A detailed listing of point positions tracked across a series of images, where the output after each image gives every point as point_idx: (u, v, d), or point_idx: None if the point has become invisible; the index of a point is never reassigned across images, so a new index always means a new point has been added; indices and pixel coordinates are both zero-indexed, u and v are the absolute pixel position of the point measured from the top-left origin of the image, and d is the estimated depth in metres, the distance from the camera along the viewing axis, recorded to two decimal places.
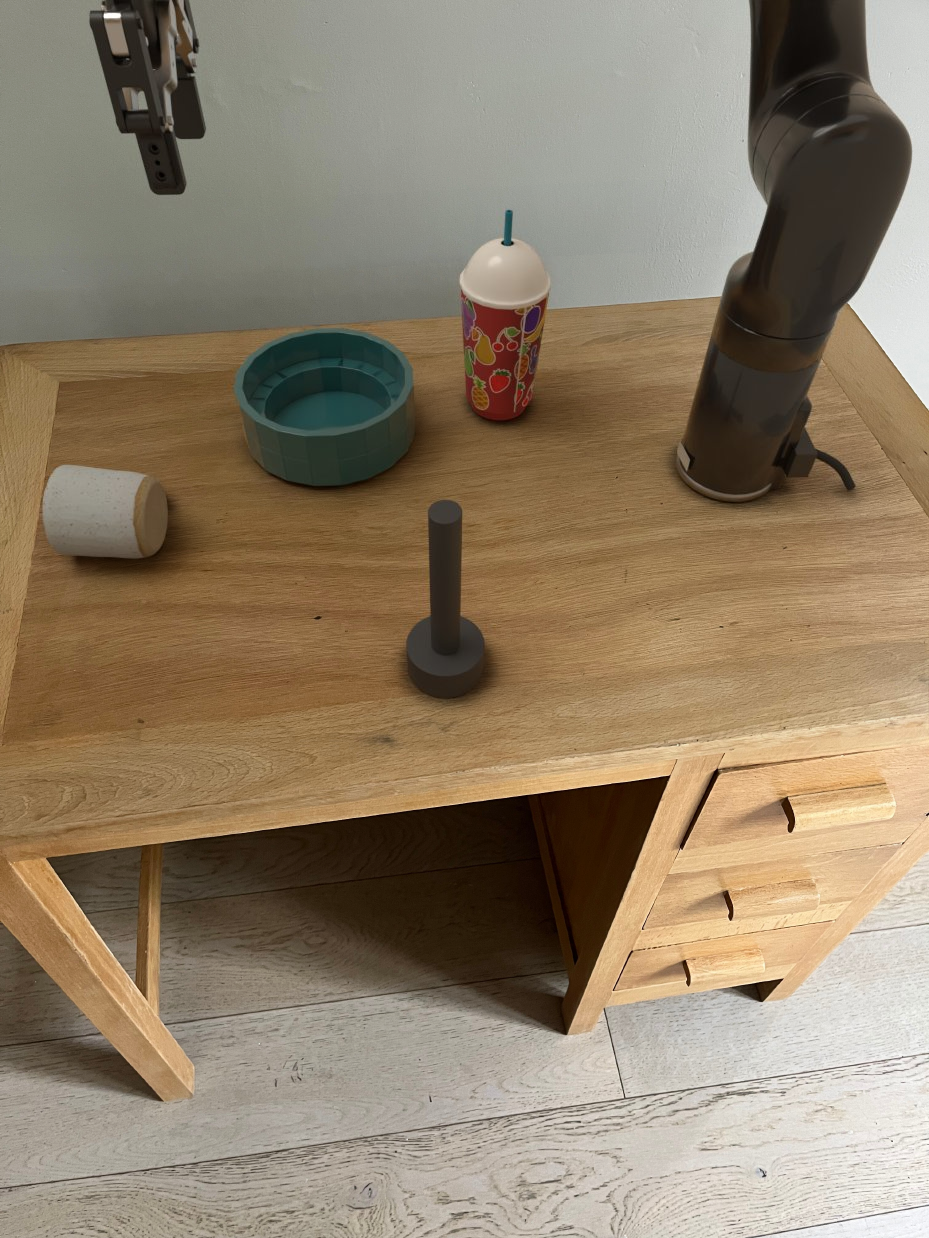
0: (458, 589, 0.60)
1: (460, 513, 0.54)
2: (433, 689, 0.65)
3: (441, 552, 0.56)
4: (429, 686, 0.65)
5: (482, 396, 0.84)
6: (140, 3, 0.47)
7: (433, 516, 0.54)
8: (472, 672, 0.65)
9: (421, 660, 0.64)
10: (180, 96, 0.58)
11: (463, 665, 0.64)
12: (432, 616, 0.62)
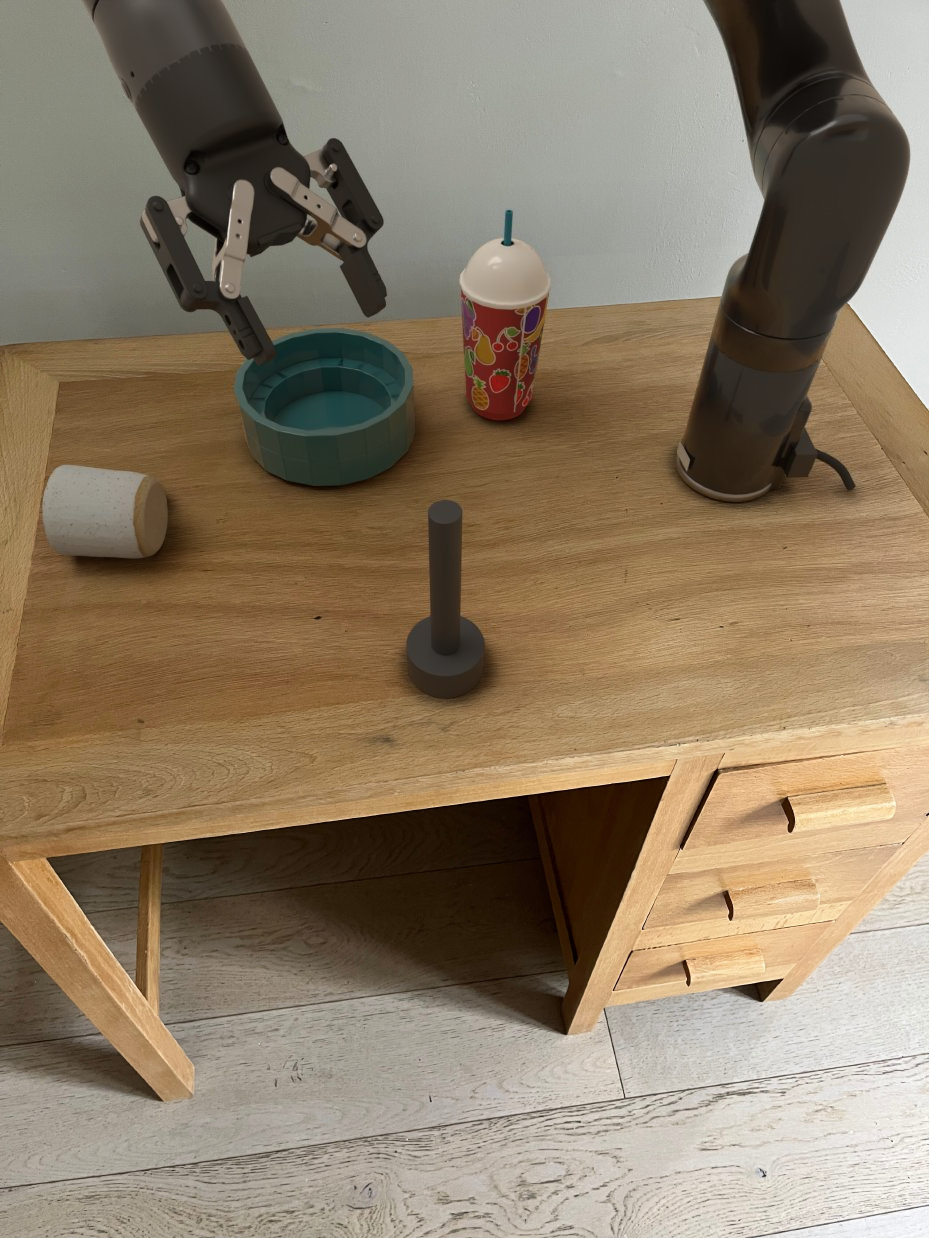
0: (458, 589, 0.60)
1: (460, 513, 0.54)
2: (433, 689, 0.65)
3: (441, 552, 0.56)
4: (429, 686, 0.65)
5: (482, 396, 0.84)
6: (190, 191, 0.50)
7: (433, 516, 0.54)
8: (472, 672, 0.65)
9: (421, 660, 0.64)
10: (353, 274, 0.56)
11: (463, 665, 0.64)
12: (432, 616, 0.62)
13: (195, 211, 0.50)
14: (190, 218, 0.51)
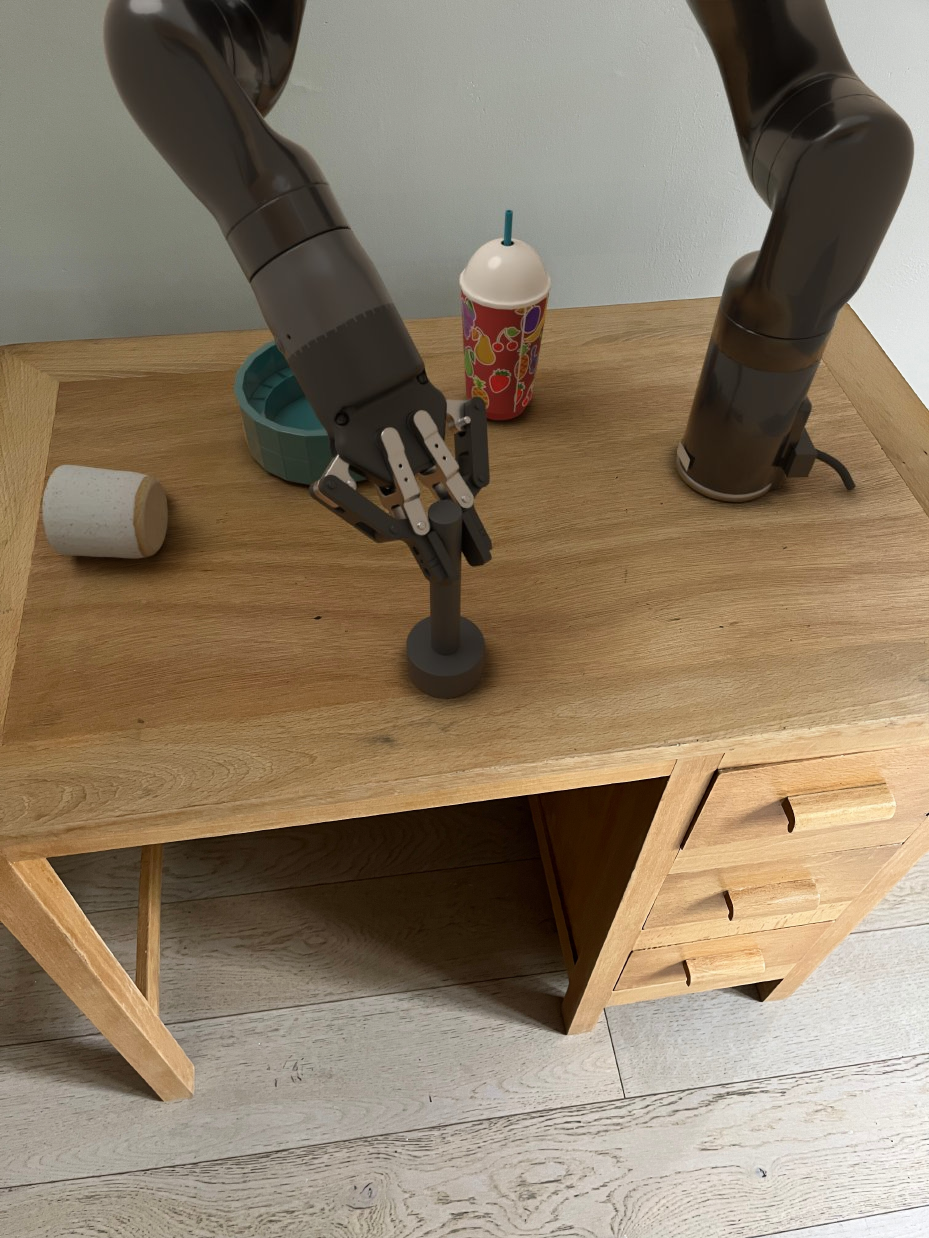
0: (458, 589, 0.60)
1: (460, 513, 0.54)
2: (433, 689, 0.65)
3: None
4: (429, 686, 0.65)
5: (482, 396, 0.84)
6: (343, 450, 0.52)
7: (433, 516, 0.54)
8: (472, 672, 0.65)
9: (421, 660, 0.64)
10: None
11: (463, 665, 0.64)
12: (432, 616, 0.62)
13: (344, 458, 0.52)
14: None
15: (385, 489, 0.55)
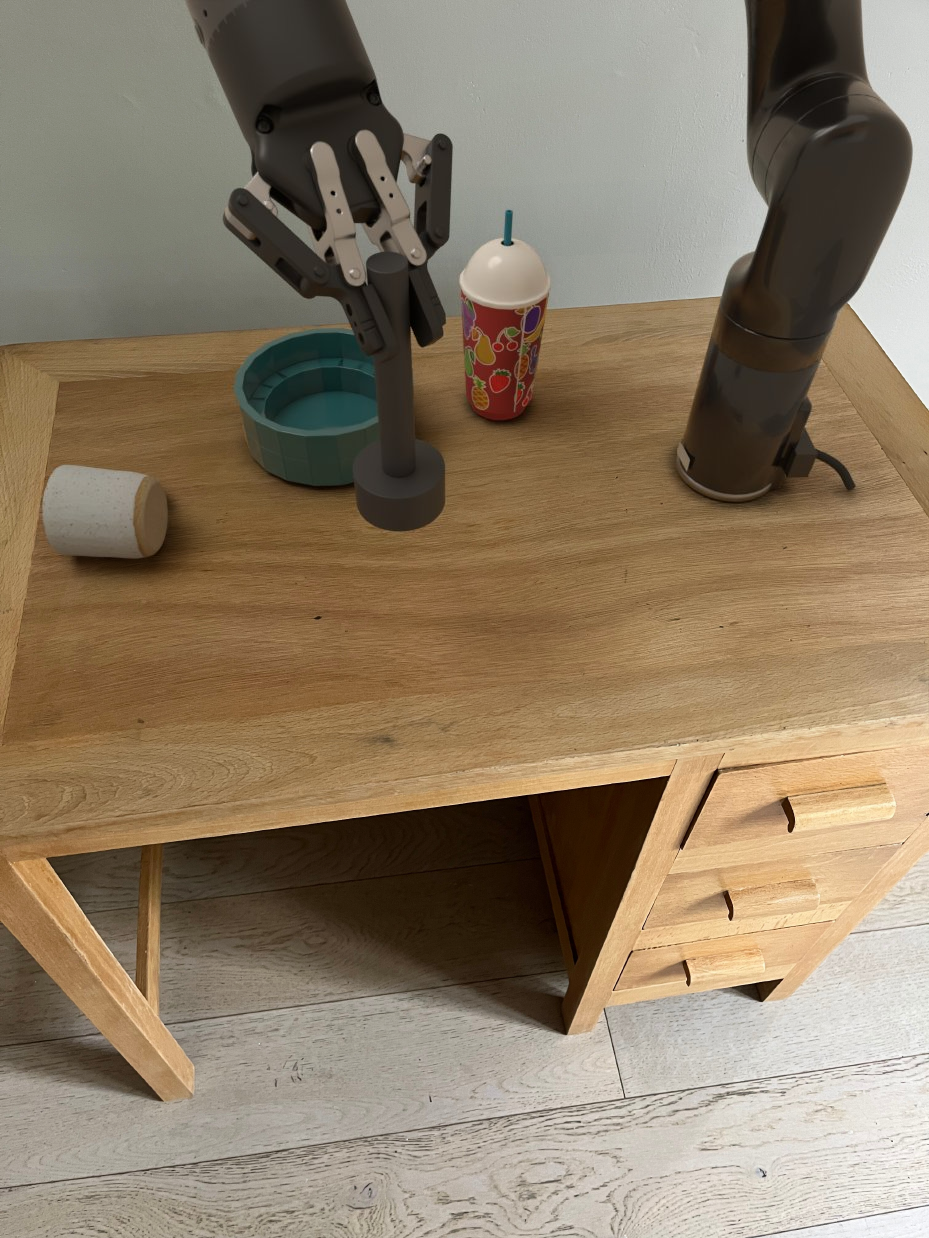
0: (407, 381, 0.50)
1: (404, 265, 0.45)
2: (379, 517, 0.56)
3: None
4: (375, 513, 0.55)
5: (482, 396, 0.84)
6: (262, 164, 0.43)
7: (371, 265, 0.44)
8: (425, 500, 0.55)
9: (367, 480, 0.55)
10: None
11: (415, 489, 0.54)
12: (379, 420, 0.52)
13: (264, 176, 0.43)
14: None
15: (321, 236, 0.46)
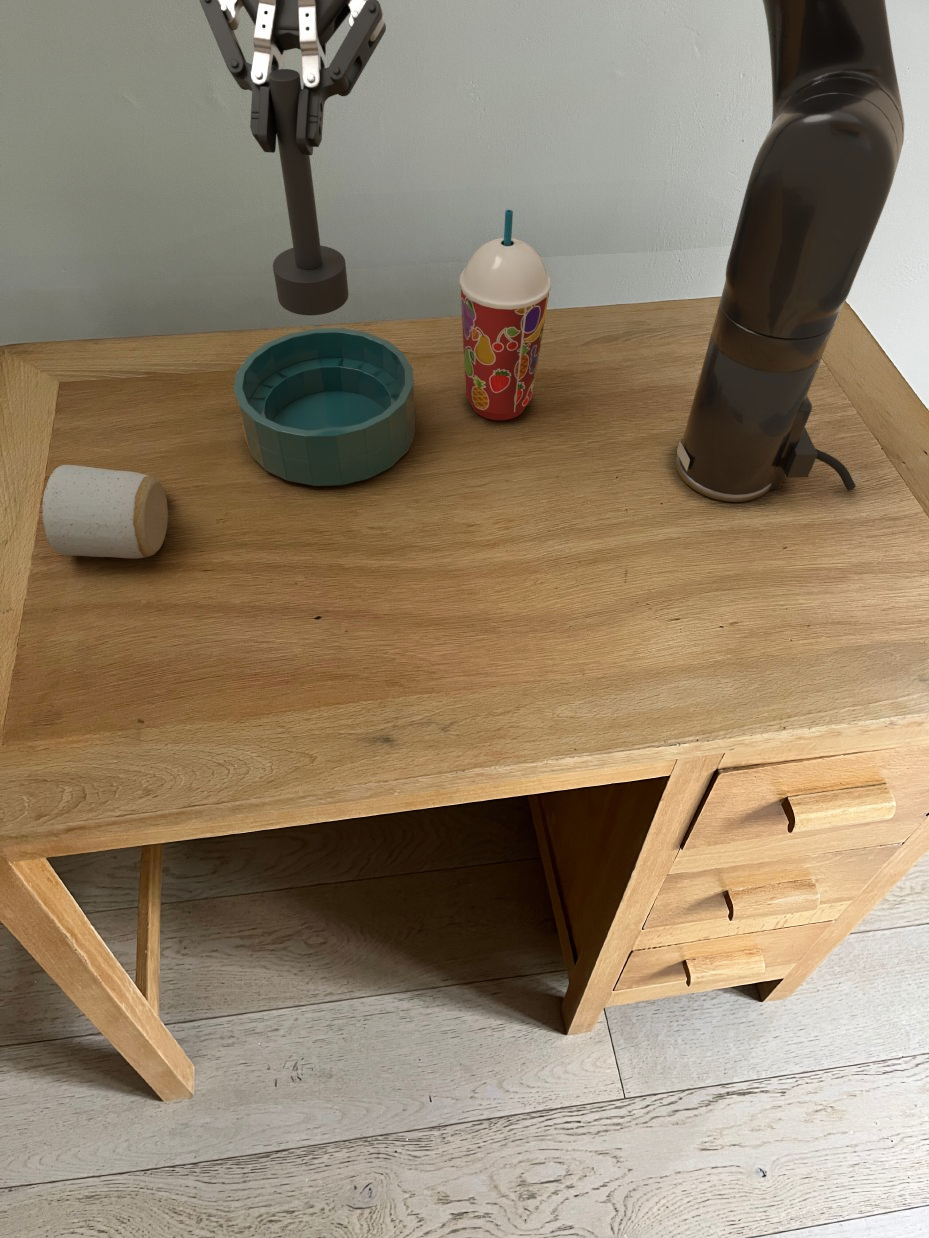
0: (298, 182, 0.65)
1: (289, 79, 0.60)
2: (278, 293, 0.72)
3: (275, 119, 0.62)
4: (276, 288, 0.72)
5: (482, 396, 0.84)
6: None
7: (271, 73, 0.60)
8: (303, 290, 0.70)
9: (280, 261, 0.71)
10: None
11: (299, 278, 0.70)
12: None
13: None
14: None
15: None
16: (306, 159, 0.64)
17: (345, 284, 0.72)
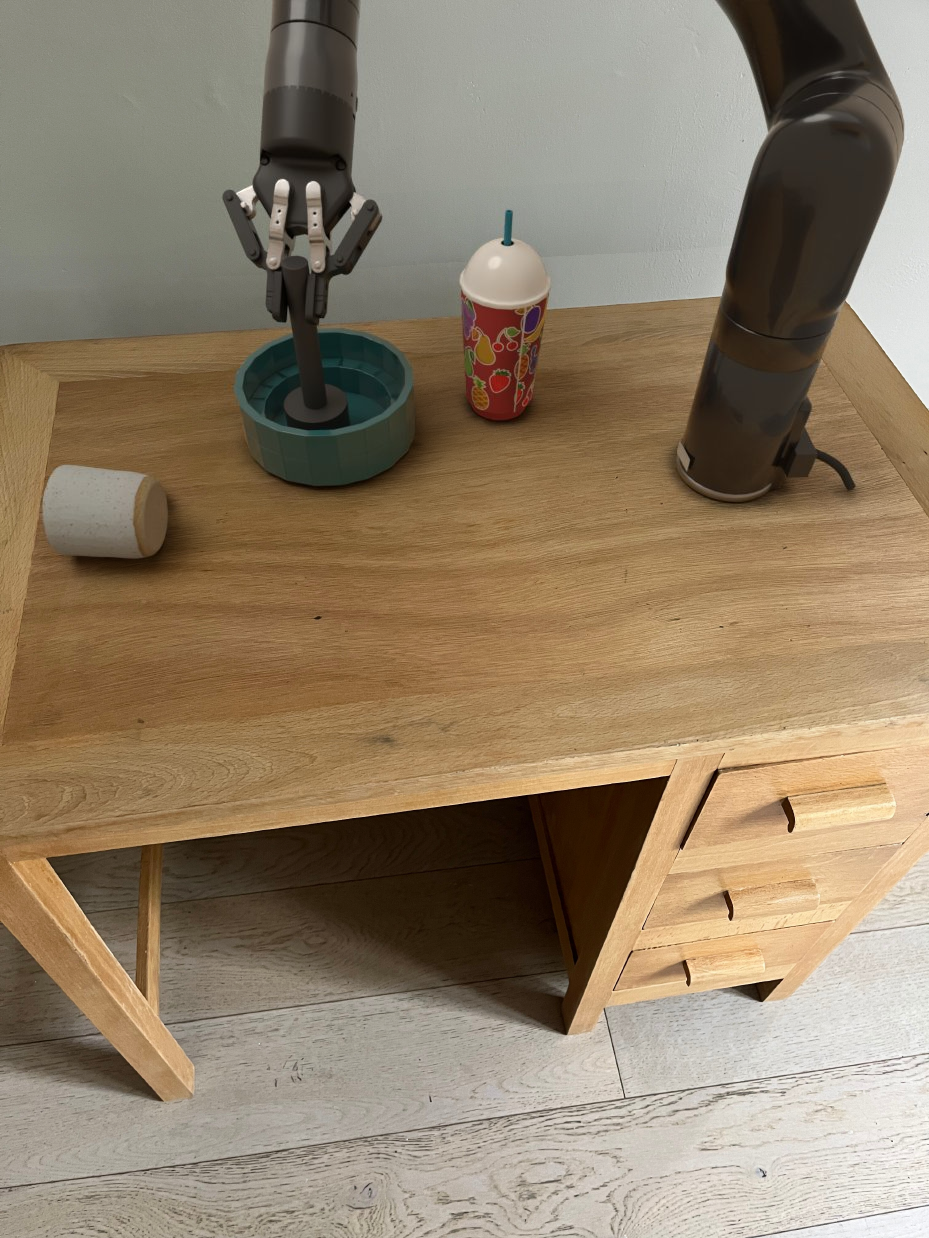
0: (306, 343, 0.75)
1: (299, 267, 0.70)
2: None
3: (287, 296, 0.72)
4: (287, 423, 0.82)
5: (482, 396, 0.84)
6: (253, 181, 0.70)
7: (284, 260, 0.71)
8: (310, 428, 0.80)
9: (290, 400, 0.81)
10: None
11: (306, 418, 0.80)
12: None
13: (253, 189, 0.71)
14: None
15: None
16: (313, 325, 0.74)
17: (347, 419, 0.82)
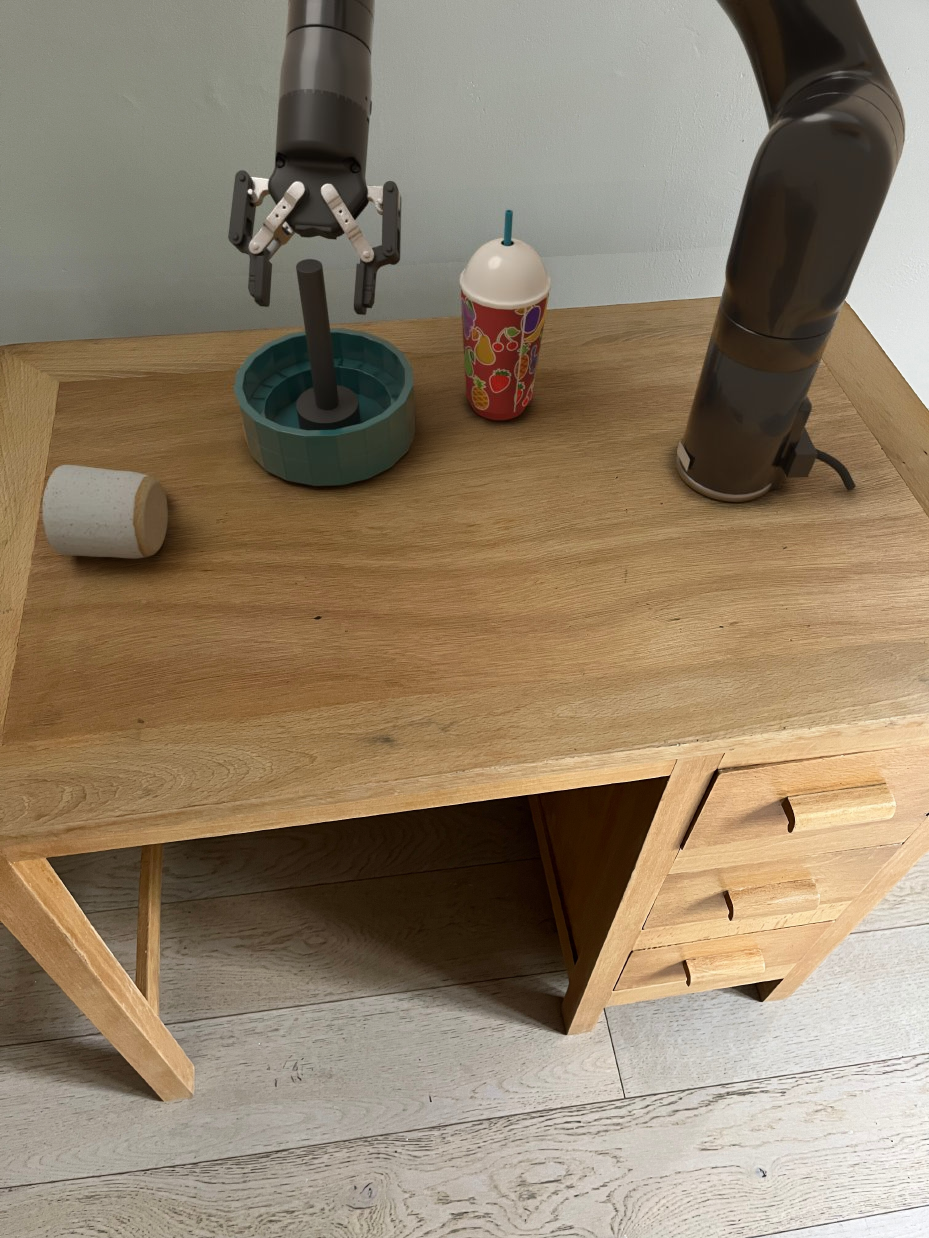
0: (319, 345, 0.76)
1: (314, 271, 0.71)
2: (300, 427, 0.83)
3: (301, 298, 0.73)
4: (299, 423, 0.83)
5: (482, 396, 0.84)
6: (271, 177, 0.71)
7: (299, 264, 0.72)
8: (322, 428, 0.81)
9: (302, 401, 0.83)
10: None
11: (318, 418, 0.81)
12: None
13: (268, 191, 0.72)
14: None
15: (284, 227, 0.74)
16: (326, 327, 0.76)
17: (358, 420, 0.83)
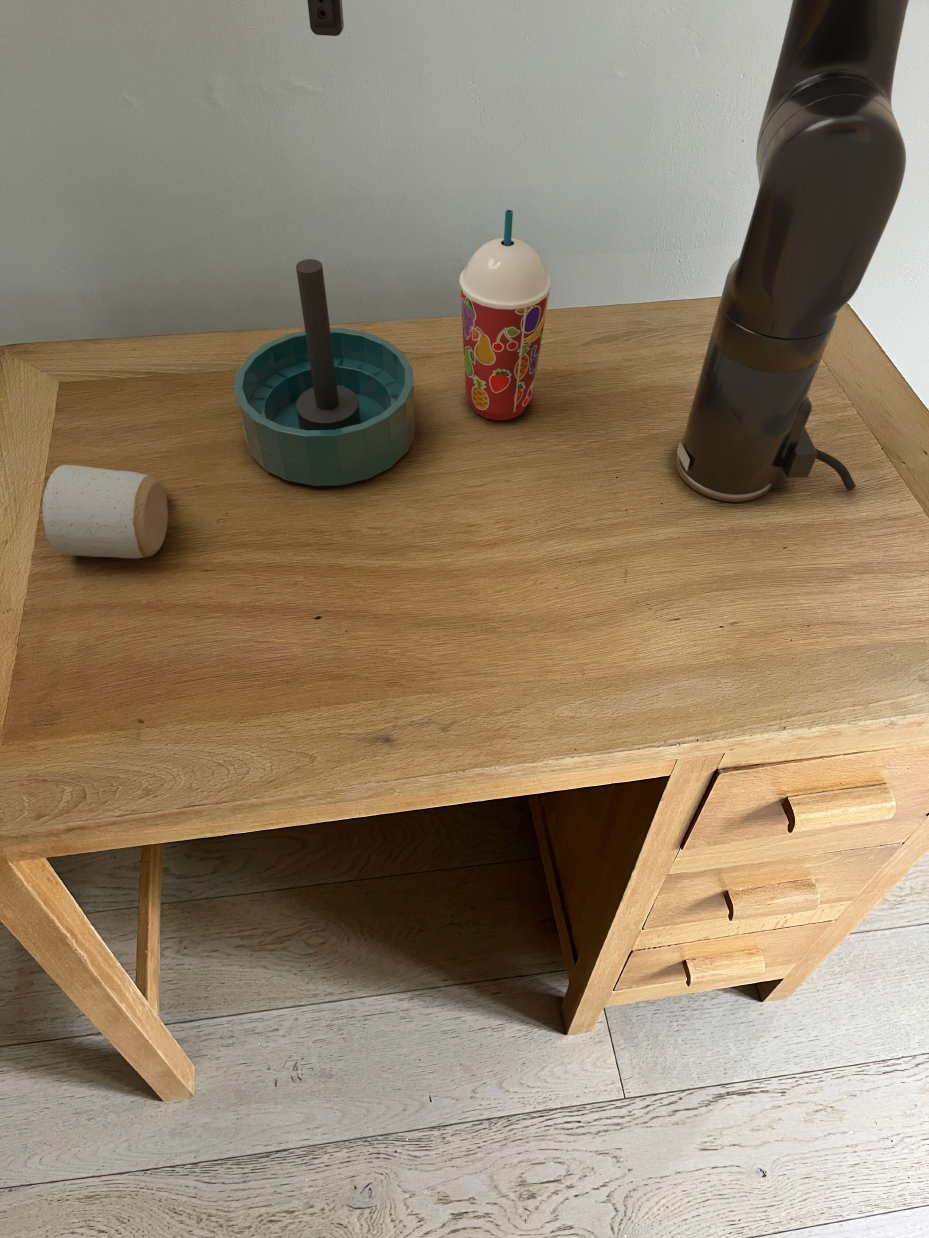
0: (319, 345, 0.76)
1: (314, 271, 0.71)
2: (300, 427, 0.83)
3: (301, 298, 0.73)
4: (299, 423, 0.83)
5: (482, 396, 0.84)
6: None
7: (299, 264, 0.72)
8: (322, 428, 0.81)
9: (302, 401, 0.83)
10: None
11: (318, 418, 0.81)
12: None
13: None
14: None
15: None
16: (326, 327, 0.76)
17: (358, 420, 0.83)
